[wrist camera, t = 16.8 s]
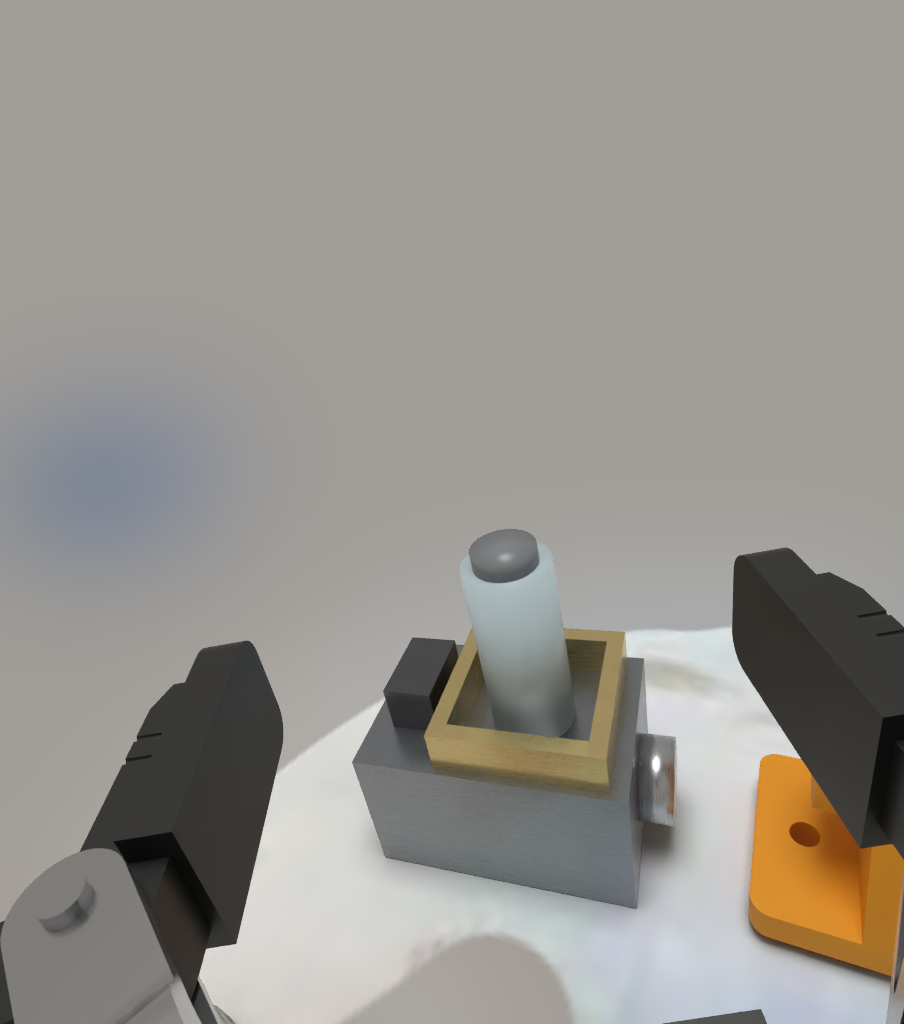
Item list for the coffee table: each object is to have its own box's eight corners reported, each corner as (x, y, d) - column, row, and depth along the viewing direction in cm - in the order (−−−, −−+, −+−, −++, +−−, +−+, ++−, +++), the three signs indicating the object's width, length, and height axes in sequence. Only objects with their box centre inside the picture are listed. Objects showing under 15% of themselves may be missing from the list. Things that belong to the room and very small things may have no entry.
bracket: (759, 779, 44) (767, 638, 38) (889, 808, 40) (918, 657, 35) (746, 939, 36) (754, 788, 30) (908, 991, 32) (951, 833, 27)
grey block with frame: (678, 759, 46) (675, 623, 41) (673, 916, 37) (668, 768, 32) (439, 729, 52) (408, 608, 47) (385, 857, 43) (339, 725, 38)
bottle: (580, 684, 41) (556, 521, 36) (570, 748, 37) (542, 575, 32) (502, 680, 43) (469, 523, 37) (485, 741, 39) (444, 575, 33)
